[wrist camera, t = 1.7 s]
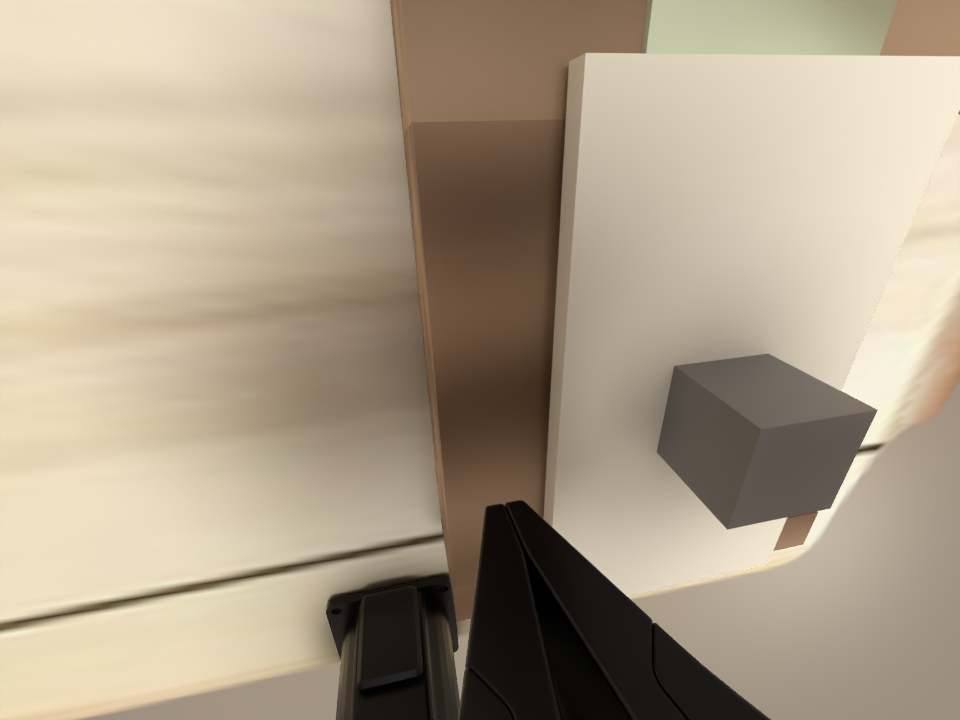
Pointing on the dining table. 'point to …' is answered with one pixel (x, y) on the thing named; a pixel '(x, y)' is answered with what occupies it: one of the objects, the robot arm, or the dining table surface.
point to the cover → (723, 293)
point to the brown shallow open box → (549, 200)
